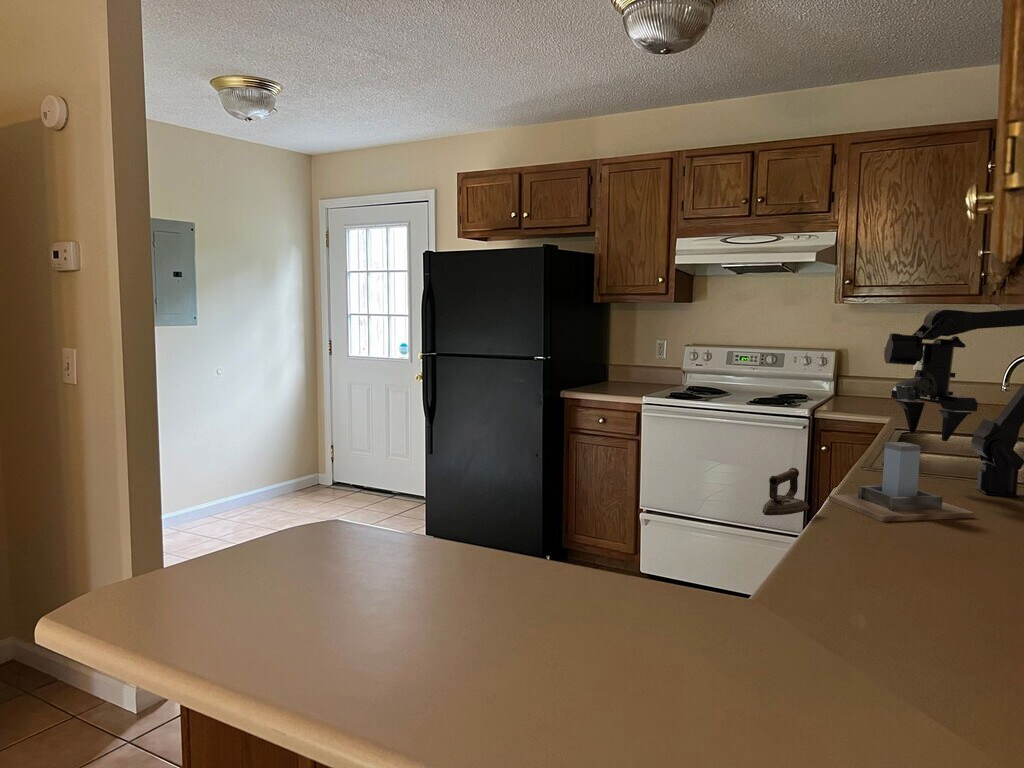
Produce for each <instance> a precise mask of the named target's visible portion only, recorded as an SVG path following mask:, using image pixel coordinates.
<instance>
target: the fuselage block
mask: <svg viewBox="0 0 1024 768" xmlns="http://www.w3.org/2000/svg"><path fill="white" fill-rule="evenodd" d="M920 458H921V445H917V444H915V443H914V444H913V443H910V442H905V441H899V442H898V441H896V442H895V441H894V442H893V441H892V442H891V441H889V442H888V441H887V442H884V456H883V467H882V468H883V472H882V483H881V485H882V492H883V493H886V494H889V495H892V496H895V497H909V496H917V489H919V488H918V486H919V484H918V483H919V469H920Z"/></svg>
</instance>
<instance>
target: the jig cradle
mask: <svg viewBox="0 0 1024 768" xmlns="http://www.w3.org/2000/svg"><path fill="white" fill-rule="evenodd" d="M857 489H858V491H857V493H853V494H849V493H848V494H829V495H828V501H831V502H833V503H835V504H837V505H841V506H843V507H845V508H848V509H850V510H852V511H855V512H857V513H860V514H862V515H864V516H867V517H869V518H871V519H874V520H877V521H879V522H880V523H881V522H882V523H885V522H887V523H888V522H889V521H890V522H906V521H907V522H909V521H927V520H928V521H929V520H930V521H931V520H933V521H935V520H950V519H951V520H952V519H953V520H954V519H973V518H974V515H975V512H973V511H970V510H967V509H964V508H961V507H959V506H955V505H952V504H949V503H947V502H944V501H943V496H941V495H936V494H933V493H930V492H927V491H924V490H921V489H919V488H917V496H909V497H895V496H892V495H889V494H886V493H883V492H882V484H881V485H859V486H858V488H857Z"/></svg>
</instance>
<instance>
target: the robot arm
mask: <svg viewBox="0 0 1024 768" xmlns="http://www.w3.org/2000/svg"><path fill="white" fill-rule="evenodd" d="M1023 326H1024V308H1015V309H1001V310H1000V309H999V310H987V311H968V310H956V309H934V310H931V311H929V312H928V313H927V314H926V316H925V317H924V319H923V323H922V324H921V325H920V326H919V327H918V328H917V329H916V330H915V332H914V333H913V334H912V335H911V334H902V333H901V334H900V333H897V332H895V333H894V332H891V333H889V338H888V340H887V341H886V345H885V347H884V351H883V356H884V363H885V364H888V365H891V364H892V365H906V366H915V365H916V364H917V362H921V369H916V371H915V373H914V377H911V378H907V379H905V380H903V381H902V380H901V381H899V382H897V383H895V386H894V387H893V389H891V397H890V398H891V399H895V400H894V402H895V403H896V404H898V405H900V407H901V408H902V410H903V412H904V415H905V418H906V422H907V423H906V424H907V427H908V430H909V431H908V432H909V433H910V434H912V433H913V434H914V433H915V432H916V431H917V428H918V425H919V422H920V420H921V417H922V413H923V410H924V406H925V404H926V402H929V403H935V404H939V405H940V407H941V408H942V409H938V411H939V413H940V415H941V416H942V425H941V426H942V427H941V441H942V442H947V441H948V440H949V439H950V437H952V435H953V433H954V432H955V430H957V428H958V427H959V426H960V424H961V423H962V422H963V421H964V420H965V419H966V417H967V416H968V415H972V414H973V412H977V411H978V404H979V402H978V400H977V399H976V398H975V397H972V396H966V395H954V391H952V390H950V383H951V379H953V378H956V374H957V373H956V372H952V367H953V359H954V353H955V352H954V351H955V348H962V349H963V348H966V347H967V345H966V344H965V343H964V342H963V341H962V340H960V338H959V336H957V335H960V334H964V333H968V332H970V331H976V330H978V329H979V330H980V329H993V328H994V329H995V328H1011V327H1023ZM955 335H956V336H955ZM939 337H951V338H939ZM923 340H924V341H933V342H923ZM928 396H929V397H928ZM1023 425H1024V383H1023V384H1022V385H1021V386H1020V388H1018V389H1017V391H1016V393H1014V395H1013V396H1012V398H1011V399H1010V401H1009V402H1008V403H1007V405H1006V406H1005V407H1004V408H1003V410H1002V411H1001V412H1000V414H999V415H998V416H997V417H995V418H994V419H992V420H990V419H987V418H983V419H982V420H981V421H980V424H979V425H978V427H977V428H976V429H975V430H973V431H972V432H971V434H972V435H973V436H972V438H971V441H970V443H971V447H972V449H973V450H974V452H975V453H976V454H977V455H978V456H979V460H980V462H981V465H980V466H981V467H980V469H978V470H977V480H976V481H977V482H976V483H977V484H976V489H977V490H979V491H980V492H981V493H983V494H984V495H988V496H1001V497H1013V498H1020V494H1019V493H1018V483H1019V482H1018V481H1019V471H1020V470H1021V469H1022V468H1023V466H1024V458H1022V457H1021V456H1020V454H1018V453H1017V452H1016V451H1015V450H1014V449H1015V447H1016V445H1017V444H1018V440H1019V436H1020V431H1021V428H1022V426H1023Z"/></svg>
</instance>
